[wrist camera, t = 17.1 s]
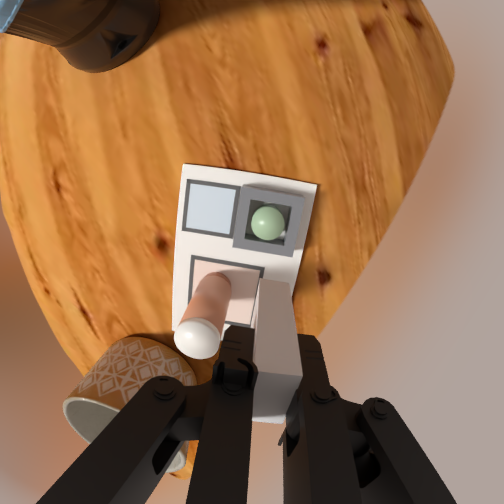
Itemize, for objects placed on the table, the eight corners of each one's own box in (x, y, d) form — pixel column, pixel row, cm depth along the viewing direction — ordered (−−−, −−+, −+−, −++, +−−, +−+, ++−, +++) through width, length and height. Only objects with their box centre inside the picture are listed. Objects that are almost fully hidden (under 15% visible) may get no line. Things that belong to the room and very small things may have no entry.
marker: (198, 297, 37) (173, 353, 26) (201, 267, 35) (174, 318, 24) (230, 303, 37) (216, 362, 26) (234, 273, 35) (221, 328, 24)
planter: (141, 307, 39) (89, 380, 23) (228, 382, 43) (214, 464, 28) (90, 354, 44) (49, 412, 28) (162, 413, 48) (141, 476, 33)
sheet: (173, 328, 40) (171, 330, 39) (184, 163, 32) (182, 163, 31) (277, 346, 40) (277, 349, 39) (316, 184, 32) (317, 185, 31)
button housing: (234, 241, 34) (232, 247, 32) (243, 184, 32) (241, 186, 29) (290, 250, 34) (292, 257, 32) (302, 194, 32) (305, 198, 29)
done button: (250, 231, 33) (248, 237, 31) (255, 201, 32) (254, 205, 29) (280, 236, 33) (281, 242, 31) (285, 207, 32) (287, 211, 29)
